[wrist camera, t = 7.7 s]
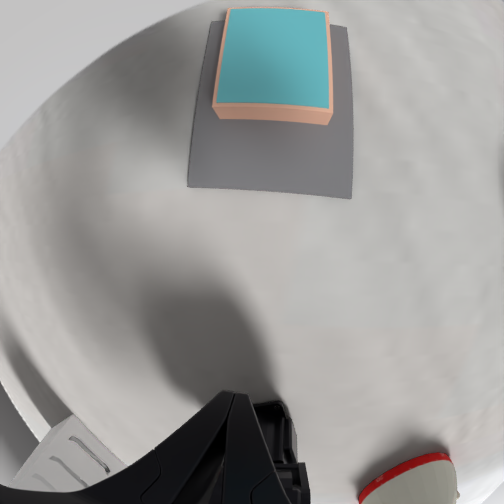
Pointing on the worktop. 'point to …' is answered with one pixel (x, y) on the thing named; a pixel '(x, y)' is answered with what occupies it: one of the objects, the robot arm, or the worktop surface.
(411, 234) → the worktop surface
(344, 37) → the mat
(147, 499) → the robot arm
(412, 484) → the kitchen timer
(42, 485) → the grater
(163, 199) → the worktop surface
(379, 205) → the worktop surface
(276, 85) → the pink and teal block
